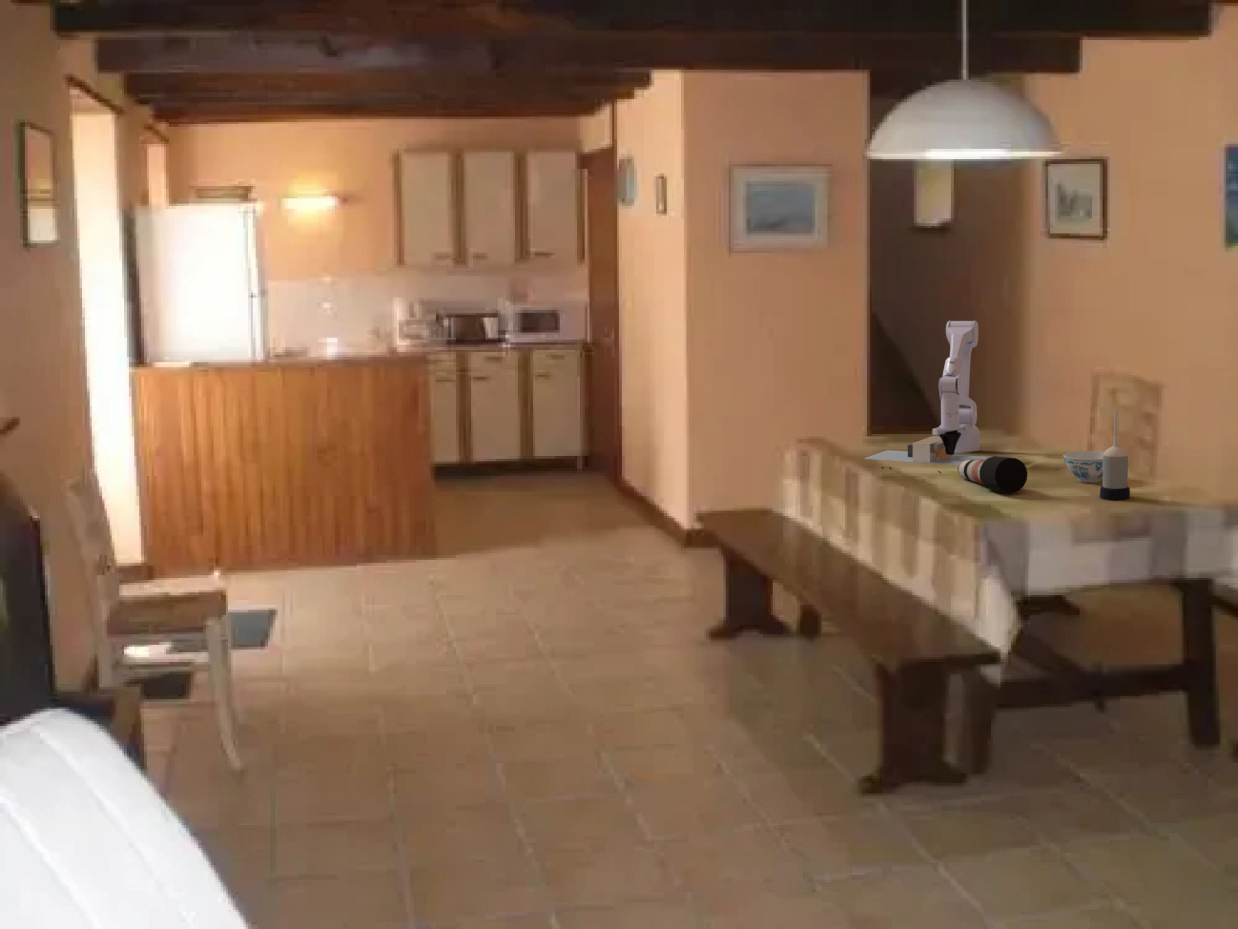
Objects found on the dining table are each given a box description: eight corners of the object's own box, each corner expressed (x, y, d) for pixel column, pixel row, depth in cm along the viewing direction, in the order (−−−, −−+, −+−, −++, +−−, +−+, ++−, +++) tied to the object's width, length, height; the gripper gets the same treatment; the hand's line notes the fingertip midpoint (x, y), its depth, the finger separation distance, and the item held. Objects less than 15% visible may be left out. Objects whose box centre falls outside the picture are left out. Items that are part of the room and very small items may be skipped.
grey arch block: (950, 454, 513) (950, 436, 511) (930, 462, 500) (929, 444, 499) (933, 453, 516) (933, 435, 515) (912, 461, 503) (912, 443, 502)
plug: (949, 457, 507) (949, 445, 506) (943, 459, 504) (943, 447, 503) (913, 454, 515) (913, 443, 514) (907, 456, 512) (907, 444, 511)
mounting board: (997, 459, 504) (997, 457, 504) (975, 469, 490) (975, 466, 490) (887, 452, 527) (887, 450, 526) (863, 460, 512) (863, 458, 512)
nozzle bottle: (1121, 494, 442) (1122, 407, 438) (1135, 499, 434) (1137, 410, 430) (1094, 496, 441) (1095, 408, 437) (1108, 501, 433) (1109, 412, 429)
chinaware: (1052, 479, 468) (1052, 454, 467) (1092, 474, 474) (1092, 449, 473) (1085, 487, 455) (1086, 461, 453) (1126, 481, 460) (1126, 455, 459)
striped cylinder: (968, 490, 480) (980, 460, 480) (1019, 498, 447) (1032, 465, 447) (940, 477, 478) (952, 447, 478) (989, 484, 444) (1003, 452, 445)
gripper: (955, 409, 509) (955, 450, 511) (925, 414, 500) (925, 456, 503) (972, 411, 503) (972, 452, 506) (941, 416, 495) (941, 458, 497)
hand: (950, 454), depth 504 cm, fingers closed
